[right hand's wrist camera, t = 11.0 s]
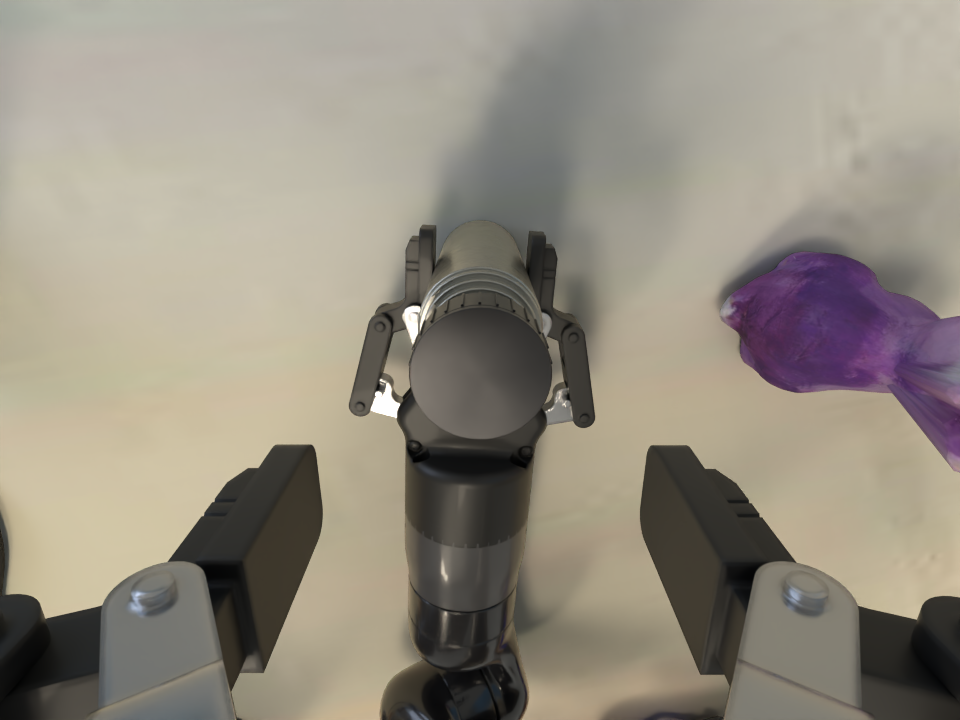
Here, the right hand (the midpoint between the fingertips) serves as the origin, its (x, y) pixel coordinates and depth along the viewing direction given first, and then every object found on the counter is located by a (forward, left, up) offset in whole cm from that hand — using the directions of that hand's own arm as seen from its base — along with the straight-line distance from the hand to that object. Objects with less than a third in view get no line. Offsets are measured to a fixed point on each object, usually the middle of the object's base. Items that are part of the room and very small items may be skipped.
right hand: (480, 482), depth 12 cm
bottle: (0, 0, -25) cm, 25 cm away
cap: (0, 0, -6) cm, 6 cm away
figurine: (+6, -20, -25) cm, 32 cm away
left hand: (+2, +1, -19) cm, 19 cm away
